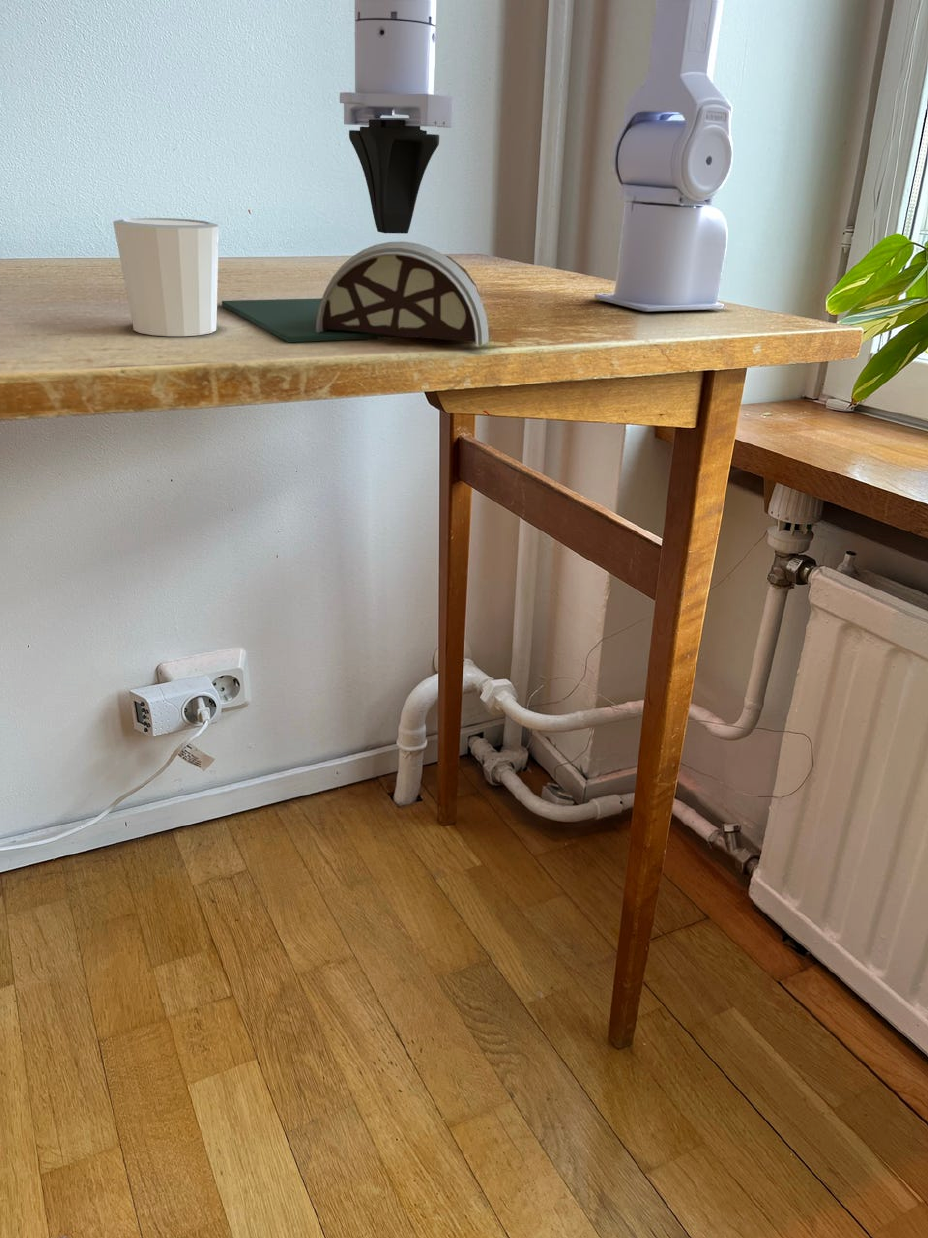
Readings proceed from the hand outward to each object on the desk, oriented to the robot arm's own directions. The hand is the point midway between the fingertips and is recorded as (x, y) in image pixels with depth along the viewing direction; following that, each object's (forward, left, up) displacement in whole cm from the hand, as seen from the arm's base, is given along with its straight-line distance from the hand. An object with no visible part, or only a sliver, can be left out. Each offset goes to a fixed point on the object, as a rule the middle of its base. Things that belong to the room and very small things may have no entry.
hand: (392, 232), depth 73 cm
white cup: (+17, +2, -6) cm, 19 cm away
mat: (+5, 0, -6) cm, 8 cm away
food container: (-2, +3, -3) cm, 4 cm away
